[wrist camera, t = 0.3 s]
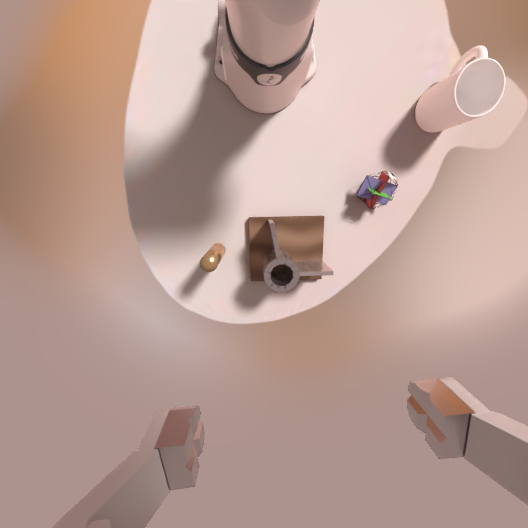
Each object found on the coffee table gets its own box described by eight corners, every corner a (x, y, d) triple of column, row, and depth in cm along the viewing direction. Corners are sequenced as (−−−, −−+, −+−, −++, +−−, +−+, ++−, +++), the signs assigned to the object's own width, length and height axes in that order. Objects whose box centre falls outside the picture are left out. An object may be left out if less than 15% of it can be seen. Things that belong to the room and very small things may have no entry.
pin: (211, 243, 54) (199, 255, 42) (224, 243, 54) (216, 255, 42) (212, 256, 54) (200, 272, 43) (225, 256, 55) (217, 271, 43)
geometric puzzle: (379, 220, 52) (407, 197, 44) (349, 211, 51) (373, 186, 44) (379, 193, 54) (405, 168, 47) (351, 184, 54) (373, 157, 46)
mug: (429, 60, 46) (477, 21, 36) (468, 71, 47) (526, 37, 37) (407, 128, 49) (446, 110, 39) (444, 138, 50) (491, 122, 40)
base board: (248, 217, 52) (248, 217, 51) (322, 215, 53) (324, 216, 52) (250, 278, 56) (250, 280, 55) (319, 276, 57) (321, 278, 55)
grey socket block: (261, 218, 51) (263, 222, 42) (323, 217, 52) (337, 221, 43) (262, 277, 55) (264, 292, 46) (320, 276, 55) (333, 290, 46)
